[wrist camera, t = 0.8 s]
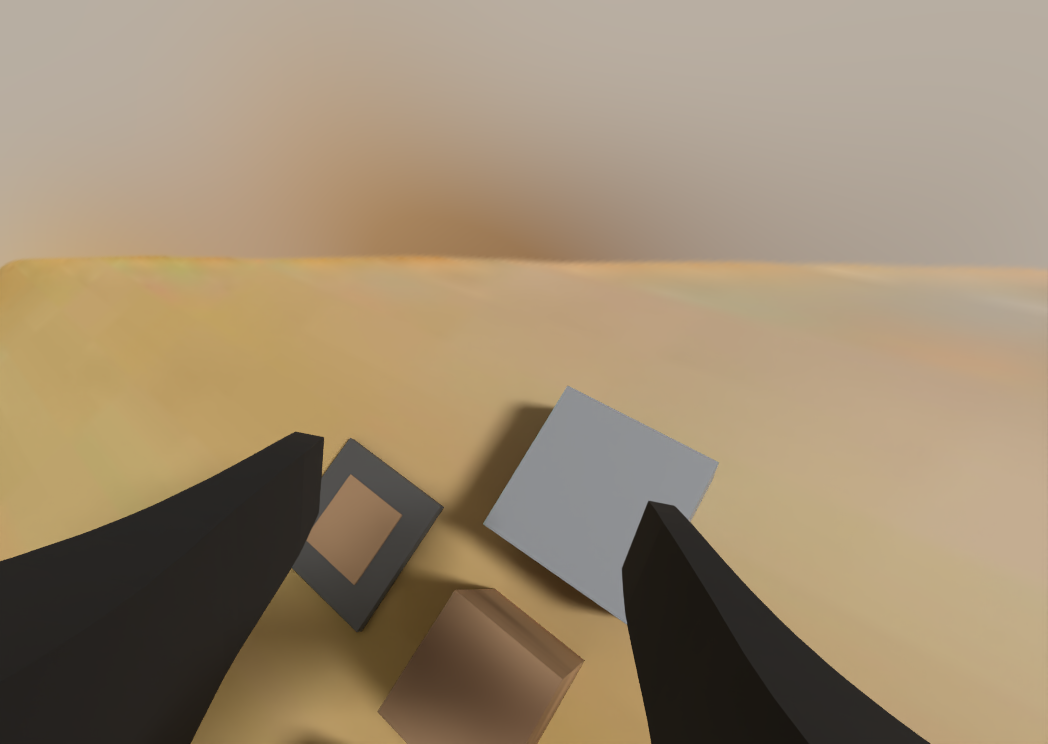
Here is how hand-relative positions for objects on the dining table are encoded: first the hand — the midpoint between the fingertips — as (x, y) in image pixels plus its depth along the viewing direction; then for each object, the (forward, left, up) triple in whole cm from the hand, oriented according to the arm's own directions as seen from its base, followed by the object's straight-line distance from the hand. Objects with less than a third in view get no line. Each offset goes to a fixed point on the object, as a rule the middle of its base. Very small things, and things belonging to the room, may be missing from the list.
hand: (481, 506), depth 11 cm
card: (0, +12, -14) cm, 18 cm away
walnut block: (-5, +3, -14) cm, 15 cm away
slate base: (+2, -1, -14) cm, 14 cm away
